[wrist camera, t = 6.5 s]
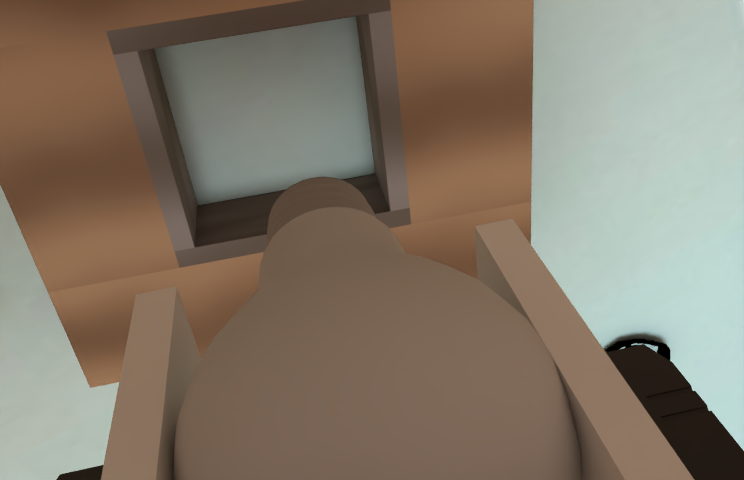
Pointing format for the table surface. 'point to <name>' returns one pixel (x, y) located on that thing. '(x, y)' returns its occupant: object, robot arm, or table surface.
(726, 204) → the table surface
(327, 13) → the socket base
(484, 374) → the lightbulb
